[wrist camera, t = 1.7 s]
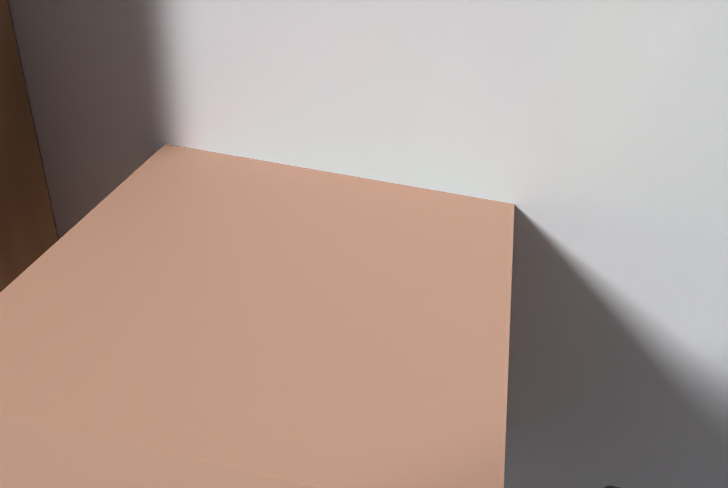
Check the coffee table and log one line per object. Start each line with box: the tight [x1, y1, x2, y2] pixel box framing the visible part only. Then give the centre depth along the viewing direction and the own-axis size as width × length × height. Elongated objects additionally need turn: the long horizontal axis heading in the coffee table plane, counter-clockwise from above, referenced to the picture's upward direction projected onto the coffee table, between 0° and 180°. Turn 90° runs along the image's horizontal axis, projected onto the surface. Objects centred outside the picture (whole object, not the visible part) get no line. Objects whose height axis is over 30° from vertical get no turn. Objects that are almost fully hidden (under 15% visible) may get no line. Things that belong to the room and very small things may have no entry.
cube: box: [0, 144, 514, 488], centre depth 9 cm, size 6×6×6 cm
